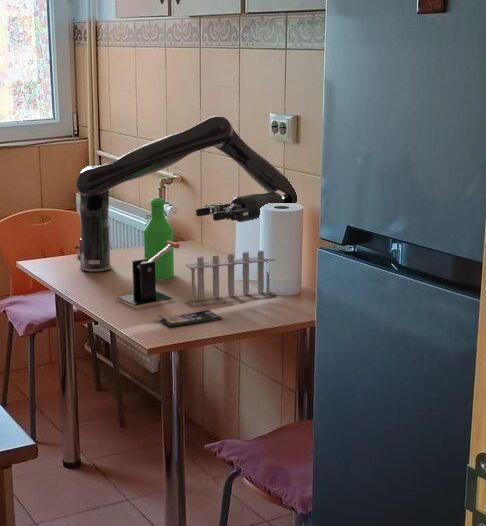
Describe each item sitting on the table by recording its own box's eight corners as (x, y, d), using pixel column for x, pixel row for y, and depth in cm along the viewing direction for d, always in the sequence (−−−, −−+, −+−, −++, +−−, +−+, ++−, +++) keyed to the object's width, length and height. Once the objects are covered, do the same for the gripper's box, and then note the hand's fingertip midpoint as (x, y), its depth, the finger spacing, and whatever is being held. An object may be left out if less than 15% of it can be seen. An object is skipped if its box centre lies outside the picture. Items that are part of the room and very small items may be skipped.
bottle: (171, 283, 279) (169, 201, 273) (143, 283, 281) (140, 201, 275) (175, 276, 288) (173, 196, 281) (147, 275, 289) (145, 196, 283)
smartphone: (221, 319, 243) (221, 315, 242) (169, 328, 237) (169, 323, 237) (206, 311, 250) (206, 307, 250) (156, 320, 244) (156, 315, 244)
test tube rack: (191, 306, 255) (190, 260, 252) (186, 302, 259) (185, 256, 256) (275, 297, 261) (276, 251, 257) (269, 293, 265) (269, 248, 262)
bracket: (153, 294, 268) (152, 254, 266) (172, 302, 260) (171, 261, 257) (117, 301, 263) (116, 261, 260) (135, 309, 254) (134, 268, 251)
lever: (171, 244, 265) (168, 238, 264) (181, 248, 261) (177, 241, 260) (137, 272, 261) (133, 265, 260) (146, 275, 257) (142, 268, 256)
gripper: (236, 192, 278) (190, 198, 271) (265, 198, 266) (219, 205, 259) (236, 216, 280) (191, 223, 273) (265, 223, 268) (219, 231, 260)
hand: (205, 214), depth 266 cm, fingers open, 8 cm apart
